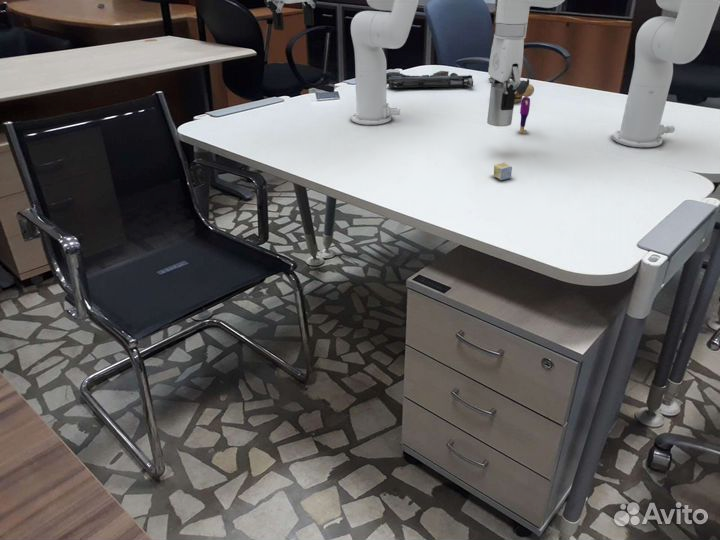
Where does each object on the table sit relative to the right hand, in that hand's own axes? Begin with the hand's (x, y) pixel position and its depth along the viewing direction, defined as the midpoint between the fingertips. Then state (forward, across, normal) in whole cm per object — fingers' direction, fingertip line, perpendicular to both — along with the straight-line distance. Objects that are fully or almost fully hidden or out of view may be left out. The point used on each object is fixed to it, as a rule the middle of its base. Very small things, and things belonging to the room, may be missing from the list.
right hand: (501, 105), depth 145 cm
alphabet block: (+13, +17, -5) cm, 22 cm away
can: (+5, 0, 0) cm, 5 cm away
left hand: (-18, -18, -50) cm, 56 cm away
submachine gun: (+13, -80, +4) cm, 81 cm away
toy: (+13, -15, +13) cm, 23 cm away
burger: (+12, -49, +24) cm, 56 cm away
